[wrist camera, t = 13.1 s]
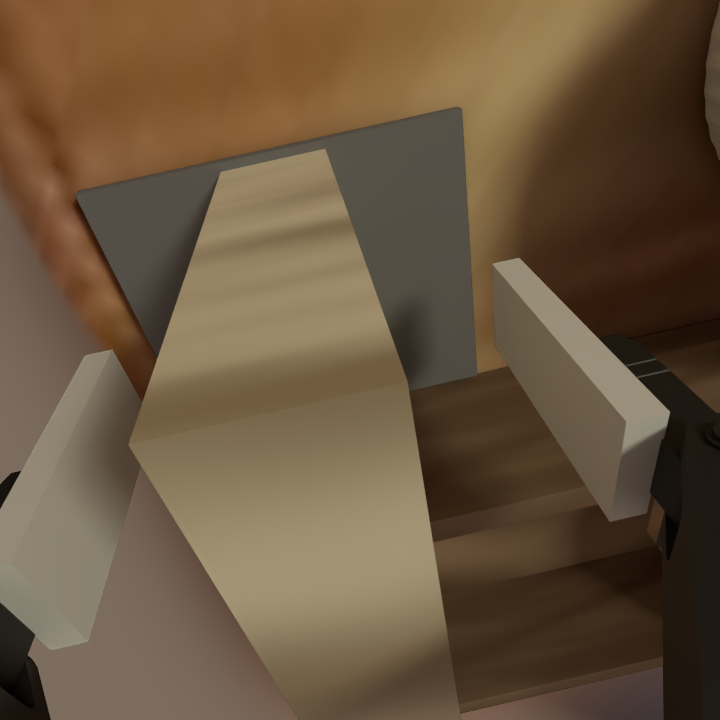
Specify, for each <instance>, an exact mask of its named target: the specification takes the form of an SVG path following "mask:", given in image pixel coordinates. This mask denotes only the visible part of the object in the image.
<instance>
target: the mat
mask: <svg viewBox="0 0 720 720" xmlns="http://www.w3.org/2000/svg"><path fill="white" fill-rule="evenodd" d="M322 149H326V152H327V155H328V158H329V161H330V164H331V166H332V169H333V172H334V175H335V178H336V181H337V183H338V186H339V189H340V192H341V195H342V198H343V200H344V203H345V206H346V209H347V212H348V214H349V217H350V220H351V223H352V226H353V229H354V231H355V234H356V237H357V240H358V243H359V246H360V248H361V251H362V254H363V257H364V260H365V263H366V265H367V268H368V271H369V274H370V277H371V280H372V282H373V285H374V288H375V291H376V294H377V297H378V299H379V302H380V305H381V308H382V311H383V313H384V316H385V319H386V322H387V325H388V328H389V330H390V333H391V336H392V339H393V342H394V345H395V347H396V350H397V353H398V356H399V359H400V362H401V364H402V367H403V370H404V373H405V376H406V379H407V381H408V388H409V391H411V390H416V389H420V388H424V387H429V386H433V385H438V384H442V383H446V382H451V381H455V380H460V379H464V378H468V377H473V376H477V364H476V346H475V329H474V311H473V294H472V276H471V258H470V241H469V223H468V206H467V188H466V171H465V153H464V136H463V118H462V109H461V108H459V107H454V108H450V109H445V110H441V111H436V112H432V113H427V114H423V115H418V116H414V117H409V118H405V119H400V120H396V121H391V122H387V123H382V124H378V125H373V126H369V127H364V128H360V129H355V130H351V131H346V132H342V133H337V134H333V135H328V136H324V137H319V138H315V139H310V140H306V141H301V142H297V143H292V144H288V145H283V146H279V147H274V148H270V149H265V150H261V151H256V152H252V153H247V154H243V155H238V156H234V157H229V158H225V159H220V160H216V161H211V162H207V163H202V164H198V165H193V166H189V167H184V168H180V169H175V170H171V171H166V172H162V173H157V174H153V175H148V176H144V177H139V178H135V179H130V180H126V181H121V182H117V183H112V184H108V185H103V186H99V187H94V188H90V189H85V190H81V191H79V192H78V193H76V194H75V196H76V198H77V200H78V202H79V204H80V206H81V208H82V210H83V212H84V214H85V216H86V218H87V220H88V222H89V224H90V226H91V228H92V230H93V232H94V234H95V236H96V238H97V240H98V242H99V244H100V246H101V248H102V250H103V252H104V254H105V256H106V258H107V260H108V262H109V264H110V266H111V268H112V270H113V272H114V274H115V276H116V278H117V280H118V282H119V284H120V286H121V288H122V290H123V292H124V294H125V296H126V298H127V300H128V302H129V304H130V306H131V308H132V310H133V312H134V314H135V316H136V318H137V319H138V321H139V323H140V325H141V327H142V329H143V331H144V333H145V335H146V337H147V339H148V341H149V343H150V345H151V347H152V349H153V351H154V353H155V355H156V357H157V358H158V355H159V352H160V349H161V347H162V344H163V341H164V338H165V335H166V332H167V329H168V326H169V323H170V320H171V317H172V314H173V311H174V308H175V305H176V302H177V299H178V296H179V293H180V291H181V288H182V285H183V282H184V279H185V276H186V273H187V270H188V267H189V264H190V261H191V258H192V255H193V252H194V249H195V246H196V243H197V240H198V237H199V234H200V232H201V229H202V226H203V223H204V220H205V217H206V214H207V211H208V208H209V205H210V202H211V199H212V196H213V193H214V190H215V187H216V184H217V181H218V178H219V176H220V173H221V172H223V171H227V170H232V169H236V168H241V167H245V166H250V165H254V164H259V163H263V162H268V161H272V160H277V159H281V158H286V157H290V156H295V155H299V154H304V153H308V152H313V151H317V150H322Z"/></svg>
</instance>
